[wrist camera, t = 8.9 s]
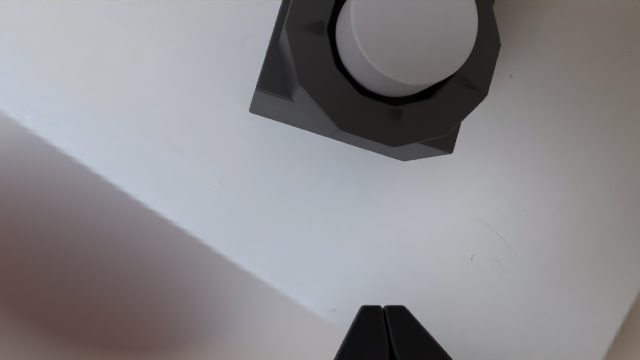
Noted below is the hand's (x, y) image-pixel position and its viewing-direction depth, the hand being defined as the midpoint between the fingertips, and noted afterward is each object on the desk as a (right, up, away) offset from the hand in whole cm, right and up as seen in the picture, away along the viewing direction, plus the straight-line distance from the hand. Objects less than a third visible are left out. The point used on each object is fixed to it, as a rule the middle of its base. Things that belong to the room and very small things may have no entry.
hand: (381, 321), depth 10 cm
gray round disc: (+1, +7, +6) cm, 9 cm away
